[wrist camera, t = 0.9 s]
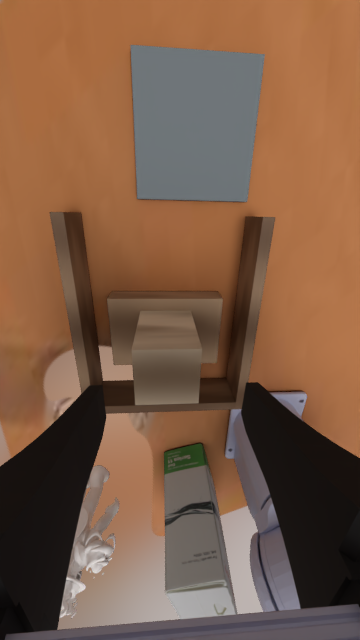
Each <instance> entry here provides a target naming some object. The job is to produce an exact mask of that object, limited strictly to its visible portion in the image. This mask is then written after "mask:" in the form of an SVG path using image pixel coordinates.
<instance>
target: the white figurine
mask: <svg viewBox="0 0 360 640" xmlns="http://www.w3.org/2000/svg"><path fill="white" fill-rule="evenodd" d="M108 478H109V471H108V470H107V469H106V468H104V467H103V466H100V465H98V466H94V467H93V468H92V471H91V475H90V477H89V481H88V484H87V487H86V489H87V488H89V487H90V491H89V492H88V494H87V496H86V498H85V500H84V498H83V502H82V507H81V511H80V516H79V520H78V525H77V529H76V534H75V539H74V543H73V548H72V553H71V558H70V563H69V568H68V573H67V578H66V583H65V589H64V594H63V600H62V605H61V610H62V611H61V612H60V616H59V617H60V618H61V617H63V616H64V615H65V614H66V615H70V614H72V615H71V618H72V617H73V616H74V615H75V614H76V613H77V610H76V609H75V607H76V606H77V603H76V604H75V605H74V606H73V603H75V602H76V598H74V597H75V595H76V594H77V593H79V592H81V591H83V590H84V589H85V588H86V586H85V584H84V583H83V582H81V581H80V578H81V575H82V571H80V570H82V569H84V567H85V566H86V565H87V567H86V570H88V568H89V567H91V568H92V572H93V573H98V572H100V571H101V569H102V567H103V566H106V565H108V563H109V561H110V560H111V559H112V558H109V557H110V556H111V554H112V552H114V548H115V536H114V534H113V533H112V534H110V535H109V537H108V538H107V539H106V540H105V541H103V540H102V537H101V535H102V533H103V531H104V530H105V529H106V528H107V526H108V525H109V524H110V522H111V521H112V519H113V517H114V516H115V515H116V513H117V512H118V509H119V501H118V499H117V498H115V502H114V503H113V504H112V505H110V506H108V507H107V508H106V511H105V514H104V515H103V516H102V517H101V518H100V519H99V520H98V522H97V523H96V525H95V526H94V528H92V529H90V527H91V521H92V517H93V515H94V512H95V509H96V507H97V505H98V502H99V498H100V496H101V492H102V488H103V483H104V482H106V481H107V480H108ZM85 493H86V491H85ZM84 497H85V494H84ZM99 539H101V540H99ZM108 539H113V541H114V548H113V547H112V546H111V545H110V544H108V543H107V542H106V541H107V540H108ZM90 573H91V571H90ZM93 578H94V579H95V577H93ZM73 612H74V613H73Z"/></svg>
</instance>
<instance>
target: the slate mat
mask: <svg viewBox="0 0 360 640" xmlns="http://www.w3.org/2000/svg"><path fill="white" fill-rule="evenodd" d="M264 56H265V54H252V53H238V52H224V51H209V50H195V49H181V48H167V47H153V46H139V45H131V65H132V88H133V111H134V134H135V157H136V179H137V199H152V200H188V201H225V202H247V199H248V190H249V182H250V174H251V165H252V157H253V148H254V140H255V132H256V123H257V115H258V106H259V98H260V90H261V81H262V73H263V64H264Z"/></svg>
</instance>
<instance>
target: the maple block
mask: <svg viewBox="0 0 360 640" xmlns="http://www.w3.org/2000/svg"><path fill="white" fill-rule="evenodd" d="M201 358H202V347H201V343H200V340H199V337H198V333H197V330H196V326H195V323H194V319H193V316H192V313H191V311H140V315H139V320H138V324H137V328H136V333H135V337H134V342H133V346H132V364H133V378H134V394H135V405H159V404H192V403H199V388H200V373H201Z"/></svg>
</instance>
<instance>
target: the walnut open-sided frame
mask: <svg viewBox="0 0 360 640" xmlns="http://www.w3.org/2000/svg"><path fill="white" fill-rule="evenodd" d="M50 218H51V223H52V229H53V234H54V240H55V246H56V251H57V257H58V263H59V268H60V274H61V280H62V285H63V291H64V297H65V302H66V308H67V314H68V319H69V325H70V330H71V336H72V342H73V347H74V353H75V359H76V364H77V370H78V375H79V381H80V387H81V393H83V392H84V391H85V390H86V389H87V387H88V386H90V385H103V393H104V402H105V410H106V414H107V413H140V412H170V411H201V410H232V409H242V403H243V398H244V392H245V386H246V383H248V380H249V374H250V368H251V362H252V355H253V349H254V343H255V337H256V331H257V325H258V319H259V313H260V307H261V301H262V295H263V289H264V283H265V277H266V270H267V264H268V258H269V252H270V246H271V240H272V234H273V228H274V222H275V217H246V220H245V228H244V237H243V245H242V253H241V262H240V270H239V278H238V287H237V295H236V303H235V312H234V320H233V328H232V337H231V345H230V353H229V362H228V370H227V378H211V379H200V388H199V403H192V404H159V405H135V394H134V380H127V381H103V378H102V372H101V363H100V355H99V347H98V339H97V332H96V324H95V316H94V309H93V301H92V293H91V285H90V278H89V270H88V262H87V255H86V247H85V239H84V231H83V224H82V216H81V213H73V212H50ZM222 303H223V298H222V297H221V295H220V294H219V293H218V291H112V292H111V293H110V295H109V296H108V298H107V304H108V314H109V323H110V333H111V343H112V352H113V361H114V365H133V364H132V346H133V342H134V337H135V333H136V328H137V324H138V320H139V315H140V311H191V313H192V316H193V319H194V323H195V326H196V330H197V333H198V337H199V340H200V343H201V347H202V358H201V363H217V354H218V344H219V334H220V324H221V313H222Z"/></svg>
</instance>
